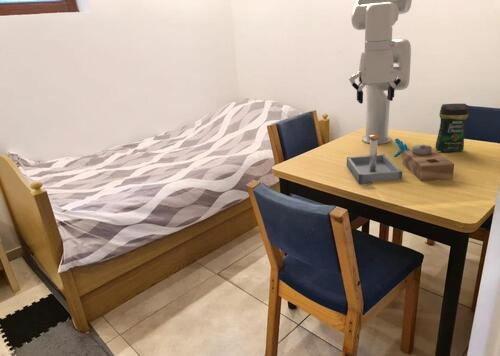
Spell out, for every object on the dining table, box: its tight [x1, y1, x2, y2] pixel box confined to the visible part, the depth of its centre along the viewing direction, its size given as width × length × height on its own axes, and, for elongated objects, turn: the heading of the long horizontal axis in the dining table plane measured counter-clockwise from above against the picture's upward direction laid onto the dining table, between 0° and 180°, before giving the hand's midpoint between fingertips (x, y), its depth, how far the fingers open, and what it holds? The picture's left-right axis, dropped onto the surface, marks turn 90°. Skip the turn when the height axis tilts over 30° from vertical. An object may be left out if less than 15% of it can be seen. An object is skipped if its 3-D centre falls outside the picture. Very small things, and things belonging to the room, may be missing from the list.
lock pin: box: [368, 134, 379, 172], centre depth 127 cm, size 3×3×13 cm
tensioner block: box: [402, 144, 455, 182], centre depth 124 cm, size 16×10×9 cm, turn 179°
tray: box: [346, 153, 403, 185], centre depth 129 cm, size 18×14×4 cm
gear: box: [393, 138, 411, 158], centre depth 141 cm, size 11×6×10 cm
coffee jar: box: [434, 103, 469, 154], centre depth 140 cm, size 10×8×19 cm
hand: (375, 101), depth 121 cm, fingers open, 9 cm apart
